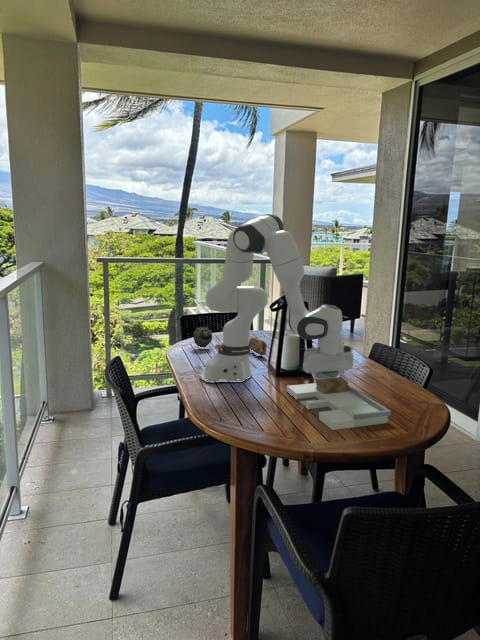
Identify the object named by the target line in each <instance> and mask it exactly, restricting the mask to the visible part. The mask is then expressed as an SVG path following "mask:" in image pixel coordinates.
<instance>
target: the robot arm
mask: <svg viewBox="0 0 480 640" xmlns="http://www.w3.org/2000/svg"><path fill="white" fill-rule="evenodd" d="M262 251H263V252H265V253H267V257H268V258H269V260H270V264H271V266H272V267H271V268H272V270H273V273H274V275H275V277H276V279H277V281H278V282H279V284H280V287H281V288H282V291H283V294H284V297H285V301H286V304H287V307H288V321H287V322H288V327H289V329H290V330H291V331H292V333H294V334H296V335H297V336H299V337H300V338H301V339H303V340H306V341H314V340H317V345H318V346H317V348H312V347H310V348H307V349H306V350H305V351H304V352H303V363H302V370H303V371H304V372H305V373H306V374H311V375H312V377H313V378H312V379H313V383H317V379H320V378H319V377H317V375H318V373H327V372H326V371H335V372H336V371H337V372H338V373H337V375H335V376H334V377H341V378H343V375H344V373H345V371H347V370H348V371H349V370H352V369H353V368H354V354H353V350H354V349H353V348H354V347H353V346H351V345H349V344H347V343H345V342H343V341H342V330H343V313H342V310H341V308H339V307H338V306H336V305H332V304H326V303H325V304H321V305H320V306H319V307H318V308H316V309H314V310H312V311H309V310H308V309H307V307H306V306H305V302H304V299H303V295H302V292H301V287H300V285H301V281H302V280H303V278H304V275H305V268H304V263H303V262H304V261H303V258H302V256H301V253H300V249H299V247H298V245H297V243H296V240H295V239H294V236H293V235H292V234H291V232H290V231H288V230H284V223H283V221H282V219H281V218H280V217H279V216H278V215H276V214H273V213H272V214H271V213H268V214H267V213H266V214H263V215H261V216H256V217H254V218H251V219H250V220H248V221H246V222H244V223H241V224H239V226H237V227H236V228H235V229H233V230H232V231H230V233H229V235H228V239H227V242H226V247H225V258H224V259H225V260H224V261H225V262H224V267H223V268H224V269H223V274H222V276H221V278H220V280H219V281H218V282H217V283H215V284H214V285H213V286H211V287H210V288H209V289H208V290H207V292H206V294H205V303H206V304H205V305H206V306H207V307H208V309H209V310H210V311H214V312H219V313H237V315H236V316H235V318H232V319H231V320H229V321H228V322H226V323H225V324H224V326H223V327H222V344H220V343H216V344H215V347H214V348H216V349H217V351H218V352H217V353H216V354H215V355H213V356H212V357H211V358H209V359H208V360H206V363H205V366H204V371H200V372H199V375H200V376H201V378H203V379H204V380H205V379H208V380H206V381H219V379H226V381H228V380H229V381H243V380H245V379H246V378H248V377H250V376H251V375H252V376H253V374H252V370H251V365H250V357H251V352H250V344H249V341H250V331H251V326H252V323H253V321H254V319H255V317H256V316H257V315H259V313H260V312H262V311H264V309H265V308H266V306H267V304H268V295H267V292H266V290H265V289H264V288H262V287H259V286H254V285H240V284H243V283H245V282H247V281H248V280H249V279H250V278H251V276H252V275H253V266H254V253H255V254H261V252H262ZM200 373H204V374H200ZM237 379H241V380H237Z"/></svg>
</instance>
